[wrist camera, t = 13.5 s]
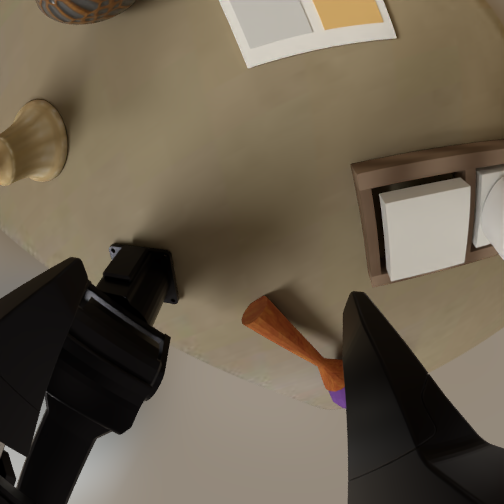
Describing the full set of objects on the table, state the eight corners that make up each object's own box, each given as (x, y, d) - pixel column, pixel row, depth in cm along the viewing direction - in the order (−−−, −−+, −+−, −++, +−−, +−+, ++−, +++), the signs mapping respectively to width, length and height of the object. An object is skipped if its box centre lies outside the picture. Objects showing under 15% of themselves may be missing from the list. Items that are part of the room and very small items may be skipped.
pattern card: (248, 68, 15) (247, 68, 15) (214, -10, 12) (213, -12, 12) (394, 38, 12) (397, 38, 12) (361, -41, 9) (363, -43, 9)
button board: (368, 272, 24) (372, 287, 22) (350, 164, 18) (356, 174, 17) (519, 232, 19) (529, 244, 17) (528, 137, 13) (542, 144, 12)
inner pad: (386, 268, 21) (391, 281, 20) (379, 193, 17) (385, 203, 16) (456, 251, 19) (464, 262, 18) (460, 177, 15) (470, 186, 14)
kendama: (279, 311, 22) (389, 400, 28) (277, 274, 28) (377, 365, 33) (229, 348, 24) (348, 422, 30) (235, 308, 30) (341, 387, 35)
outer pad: (468, 237, 19) (476, 247, 18) (471, 167, 16) (481, 174, 15) (517, 224, 17) (525, 233, 16) (524, 159, 14) (534, 165, 13)
